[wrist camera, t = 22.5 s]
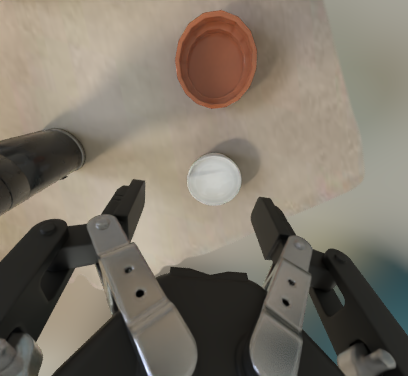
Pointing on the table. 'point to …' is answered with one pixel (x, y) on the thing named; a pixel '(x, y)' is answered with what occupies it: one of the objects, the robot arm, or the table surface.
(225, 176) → the ramekin
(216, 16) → the bowl
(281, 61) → the table surface
